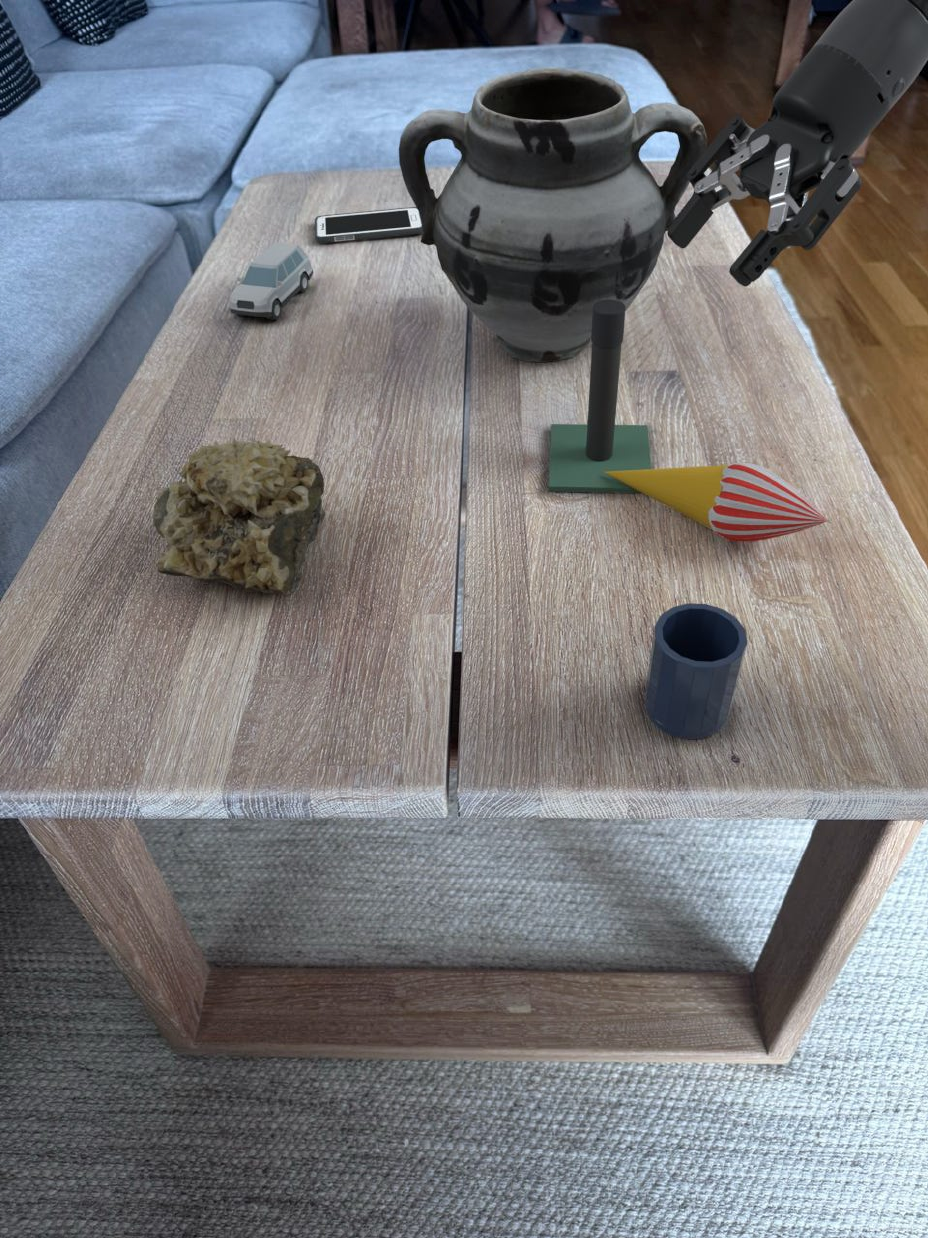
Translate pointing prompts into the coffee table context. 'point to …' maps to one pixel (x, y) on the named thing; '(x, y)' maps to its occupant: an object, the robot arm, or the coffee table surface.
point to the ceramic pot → (548, 202)
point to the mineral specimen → (241, 516)
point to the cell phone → (368, 225)
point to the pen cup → (694, 670)
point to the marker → (604, 377)
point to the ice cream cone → (729, 499)
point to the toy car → (272, 281)
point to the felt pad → (586, 475)
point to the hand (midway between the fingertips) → (704, 260)
